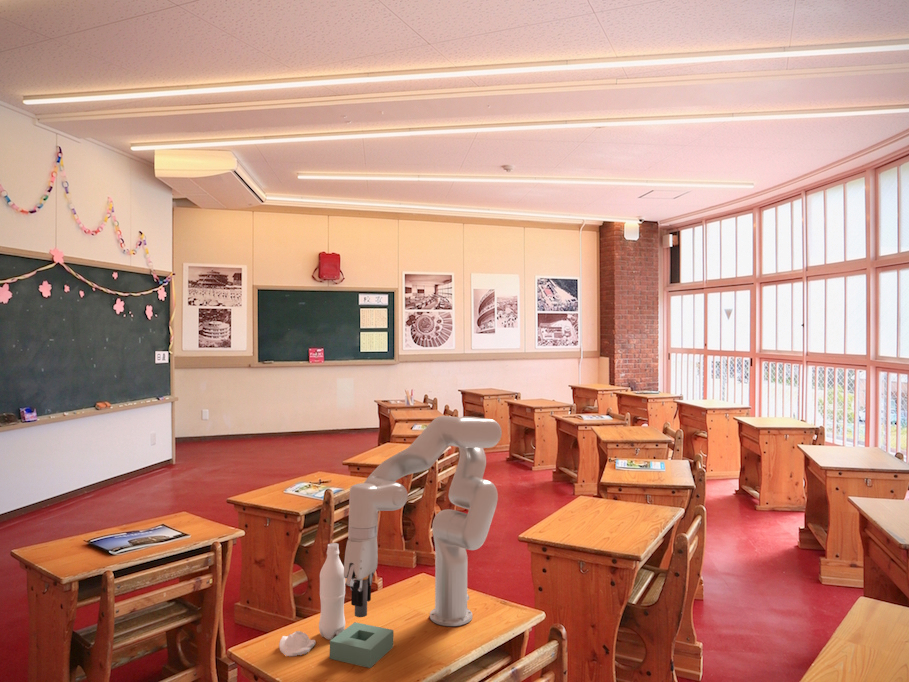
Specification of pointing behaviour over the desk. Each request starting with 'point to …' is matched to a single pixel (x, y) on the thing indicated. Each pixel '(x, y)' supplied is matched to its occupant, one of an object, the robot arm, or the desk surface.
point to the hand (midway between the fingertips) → (361, 602)
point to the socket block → (361, 644)
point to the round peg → (363, 610)
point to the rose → (296, 644)
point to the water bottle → (332, 594)
